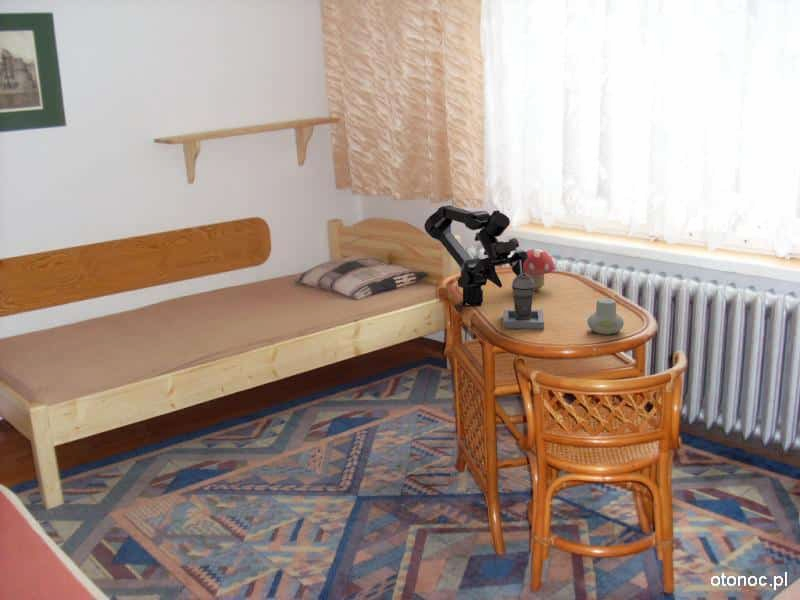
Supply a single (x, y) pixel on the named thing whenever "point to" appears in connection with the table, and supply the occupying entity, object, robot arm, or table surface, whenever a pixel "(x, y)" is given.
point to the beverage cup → (523, 295)
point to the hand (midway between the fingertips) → (512, 284)
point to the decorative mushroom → (538, 266)
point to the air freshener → (605, 317)
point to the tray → (533, 323)
